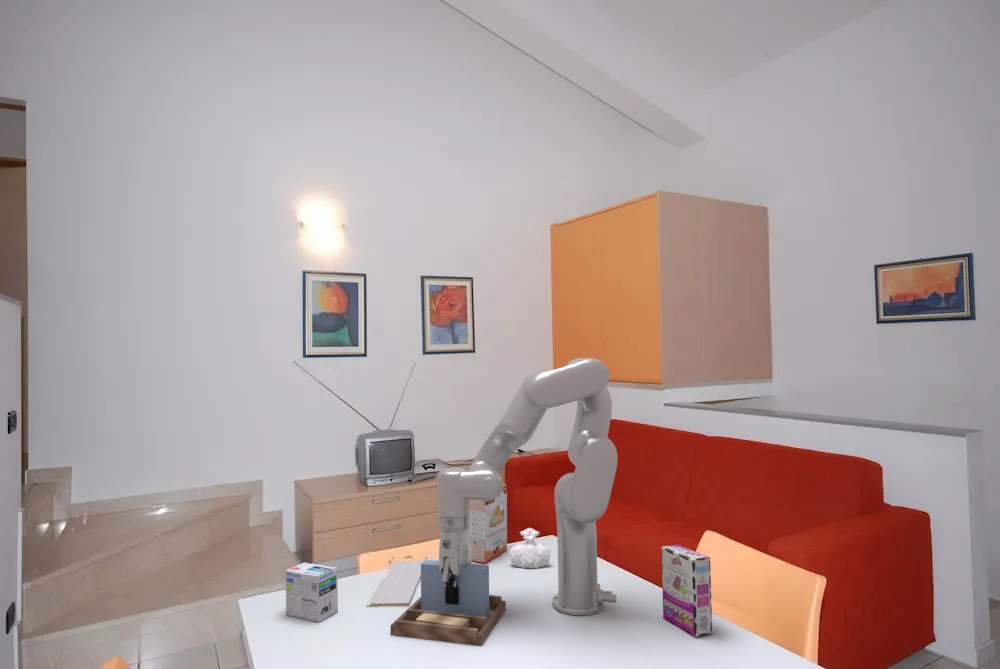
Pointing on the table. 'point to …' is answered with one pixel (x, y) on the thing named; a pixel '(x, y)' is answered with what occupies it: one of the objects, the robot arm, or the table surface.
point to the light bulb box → (311, 591)
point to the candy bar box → (687, 590)
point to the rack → (448, 633)
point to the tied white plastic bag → (529, 552)
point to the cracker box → (488, 527)
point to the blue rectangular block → (470, 590)
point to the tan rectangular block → (442, 620)
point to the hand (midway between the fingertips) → (455, 599)
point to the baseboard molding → (397, 584)
